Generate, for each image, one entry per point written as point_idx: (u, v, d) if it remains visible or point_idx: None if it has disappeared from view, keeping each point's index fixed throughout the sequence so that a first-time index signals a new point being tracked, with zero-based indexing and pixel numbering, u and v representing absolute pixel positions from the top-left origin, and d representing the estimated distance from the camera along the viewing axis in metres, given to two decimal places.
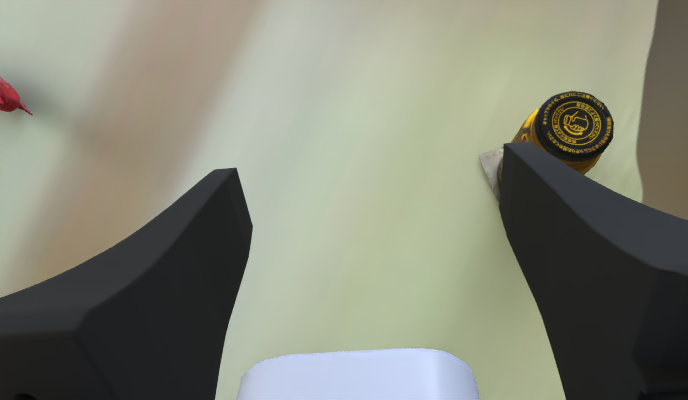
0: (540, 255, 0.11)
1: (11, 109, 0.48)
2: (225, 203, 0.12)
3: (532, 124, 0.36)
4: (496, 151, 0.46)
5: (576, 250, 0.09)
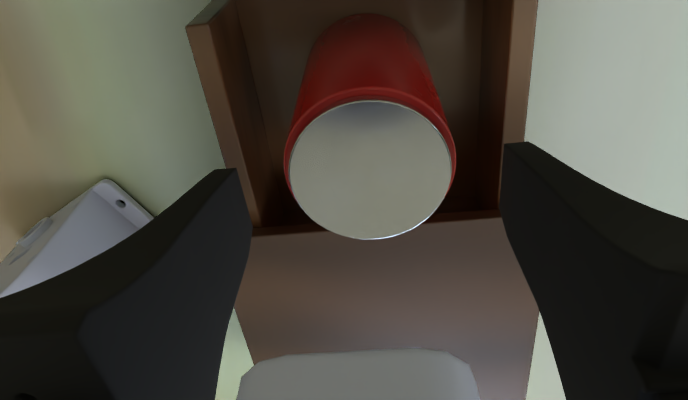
0: (540, 255, 0.11)
1: None
2: (225, 203, 0.12)
3: None
4: None
5: (576, 250, 0.09)
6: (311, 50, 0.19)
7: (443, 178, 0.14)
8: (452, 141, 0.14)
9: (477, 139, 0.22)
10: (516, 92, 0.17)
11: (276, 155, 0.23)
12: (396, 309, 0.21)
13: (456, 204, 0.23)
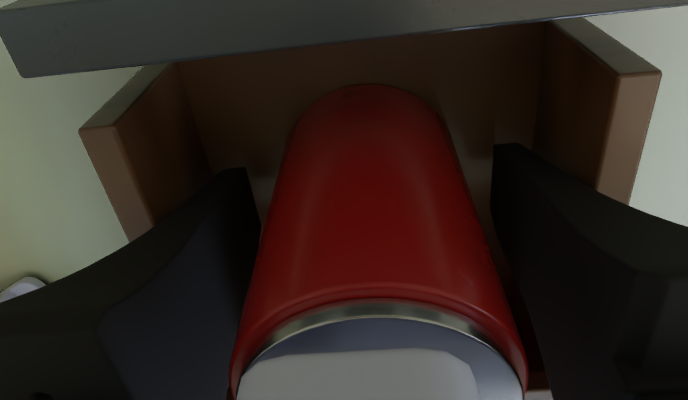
0: (528, 256, 0.11)
1: None
2: (235, 202, 0.12)
3: None
4: None
5: (561, 251, 0.09)
6: (289, 136, 0.13)
7: None
8: (525, 359, 0.08)
9: None
10: None
11: None
12: None
13: None
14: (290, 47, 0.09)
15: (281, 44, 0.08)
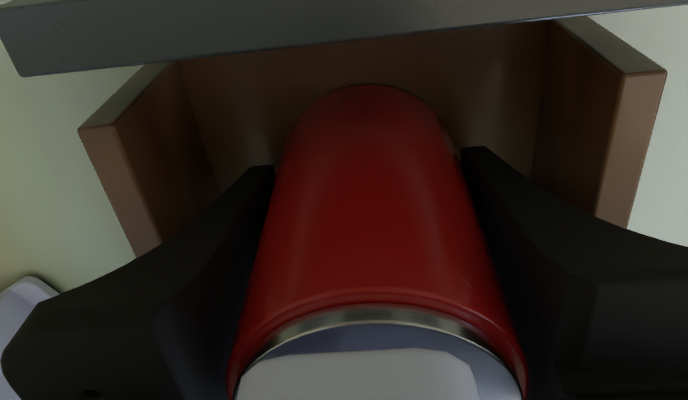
0: None
1: None
2: (265, 200, 0.12)
3: None
4: None
5: (514, 254, 0.09)
6: (288, 137, 0.13)
7: None
8: (525, 364, 0.08)
9: None
10: None
11: None
12: None
13: None
14: (291, 46, 0.08)
15: (281, 43, 0.08)
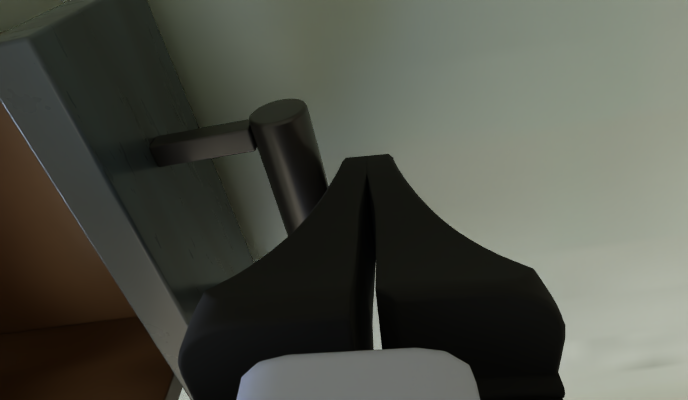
0: None
1: None
2: (368, 191, 0.12)
3: None
4: None
5: None
6: None
7: None
8: None
9: (20, 331, 0.19)
10: None
11: None
12: None
13: None
14: (104, 263, 0.11)
15: (104, 258, 0.11)
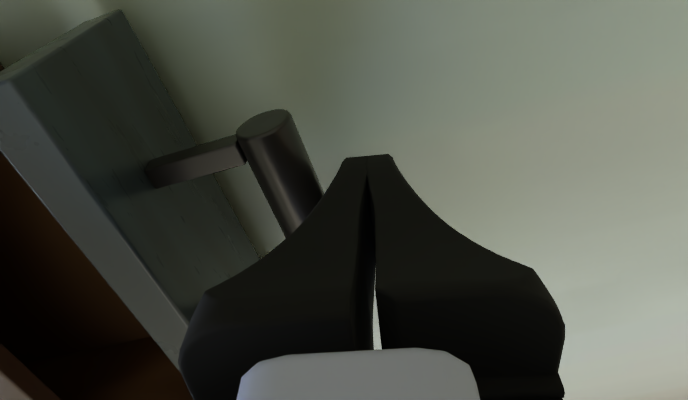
0: None
1: None
2: (368, 191, 0.12)
3: None
4: None
5: None
6: None
7: None
8: None
9: (54, 357, 0.20)
10: None
11: None
12: None
13: None
14: (111, 286, 0.12)
15: (110, 282, 0.11)
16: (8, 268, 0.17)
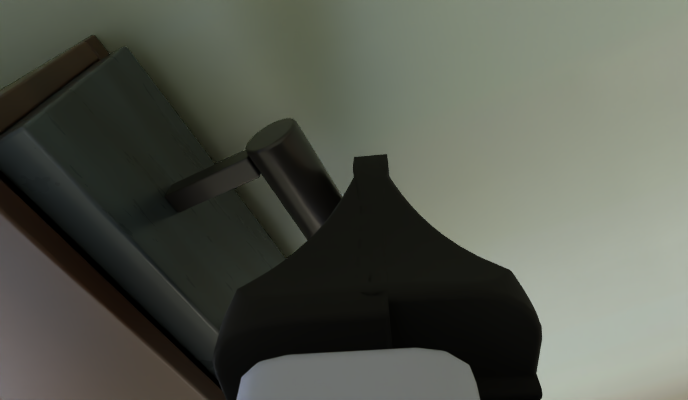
0: None
1: None
2: None
3: None
4: None
5: None
6: None
7: None
8: None
9: None
10: None
11: None
12: None
13: None
14: (148, 312, 0.12)
15: (145, 307, 0.12)
16: None
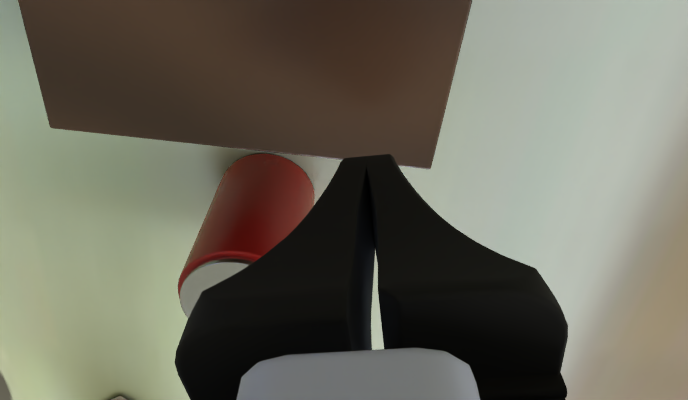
0: None
1: None
2: (367, 191, 0.12)
3: None
4: None
5: None
6: (233, 167, 0.24)
7: None
8: None
9: None
10: None
11: None
12: None
13: None
14: None
15: None
16: None
